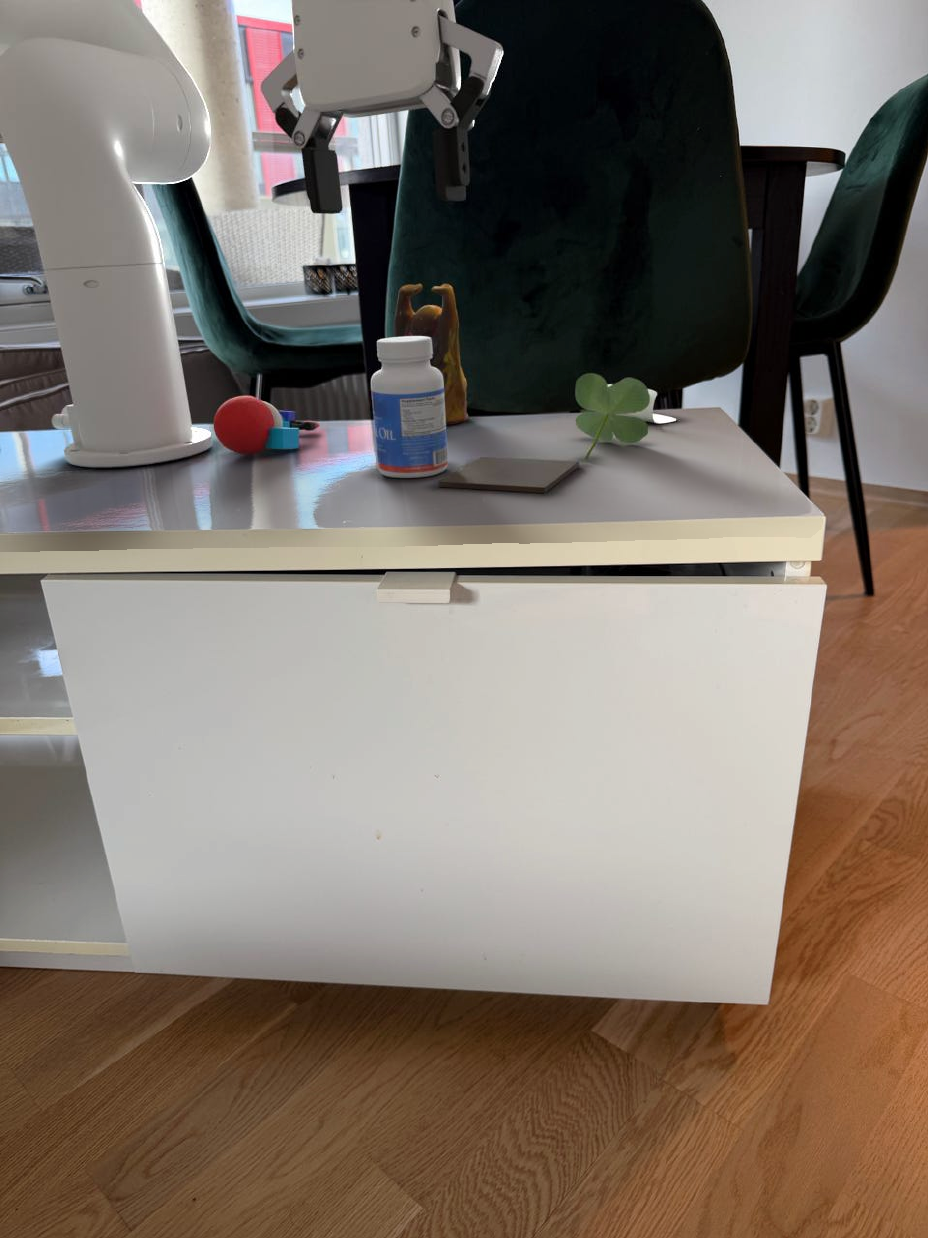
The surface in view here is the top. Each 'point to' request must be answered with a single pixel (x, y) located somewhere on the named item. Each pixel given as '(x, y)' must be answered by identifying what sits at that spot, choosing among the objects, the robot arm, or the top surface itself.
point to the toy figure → (257, 426)
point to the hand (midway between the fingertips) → (387, 206)
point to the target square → (510, 474)
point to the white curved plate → (649, 411)
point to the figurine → (437, 343)
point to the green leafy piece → (611, 408)
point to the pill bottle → (409, 409)
